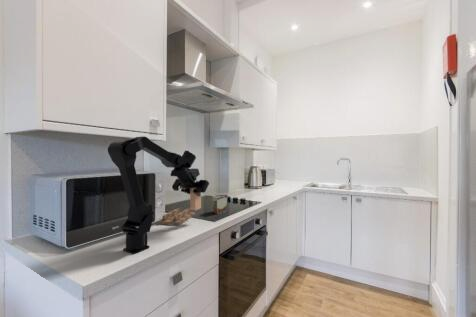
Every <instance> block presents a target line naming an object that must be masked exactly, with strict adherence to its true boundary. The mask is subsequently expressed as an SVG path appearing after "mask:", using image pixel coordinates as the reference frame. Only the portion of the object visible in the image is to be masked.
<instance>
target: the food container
mask: <svg viewBox="0 0 476 317" xmlns="http://www.w3.org/2000/svg"><path fill="white" fill-rule="evenodd" d="M211 198H212V199H211V201H212V203H213V213H214V214H215V215H220V214H222V212H223V213H225V212H228V211H227V209H228V208H227V207H228V198H229V196H228V194H215V195H212V197H211ZM219 213H220V214H219Z"/></svg>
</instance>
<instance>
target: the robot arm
mask: <svg viewBox="0 0 476 317" xmlns="http://www.w3.org/2000/svg"><path fill="white" fill-rule="evenodd" d="M140 151H141V152H142V151H144V152H146V153H147V154H149V155H151V156H153V157H155V158H156V159H158V160H160V162H161V164H162V165H163V166H165V167H166V168H173V169H172V170H170V177H176V179H175V181H174V182H173V184H172V185H171V186H172V187H171V188H172V190H173V191H175V192H178V191H179V190H180V192H181V193H185V194H188V195H190V189H191V188H194V191H193V193H195V194H196V195H198V196H200V195H201V196H202V194H203V193H206V191H207V189H208V187H209V185H210V182H209V181H208V179H199V180H198V177H199V176H200V170H199V168H191V167H192V166H193V164H194V162H195V160H196V159H197V157H196V155H195V154H194V153H193V152H190V151H189V150H184V151H183V154H182V155H181V154H179V153H176V152H172V151H168V150H166V149H165V148H163V147H162V146H160V145H159V144H157V143H155V142H154V141H152V140H151V139H150V138H148V137H147V136H136V137H134V138H130V139H127V140H124V141H113V142H110V144H109V145H108V147H107V153H108V155H109V158H110V159H111V161H112V162H113V164H114V165H115V166H116V167H117V169H118V170H119V174H120V177H121V180H122V184H123V188H124V191H125V194H126V198H127V201H128V202H127V203H128V205H129V207H128V211H127V219H126V220H125V222H124V223H123V224H122V226H121V230H122V233H125V247H124V248H123V249H122V251H125V252H127V253H130V254H137V253H139V252H141V251H145V250H146V249H149V248H150V245H148V233H150V231H151V228H152V225H153V221H154V215H155V213H154V212H153V206H152V204H149V203H146V202H145V200H144V197H143V193H142V189H141V185H140V181H139V177H138V174H137V171H136V170H137V169H136V167H135V165H136V164H135V163H136V160H137V153H138V152H140ZM200 192H201V193H200Z"/></svg>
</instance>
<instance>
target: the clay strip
mask: <svg viewBox="0 0 476 317" xmlns="http://www.w3.org/2000/svg"><path fill="white" fill-rule="evenodd" d="M193 191H194V188H191V189H190V194H189V199H190V202H189V204H190V205H189V206H190V207H189V208H190V211H197V210H201V209H202V193H201V192H200V193H201V195H200V196H198V195H196V194H195V193H193Z"/></svg>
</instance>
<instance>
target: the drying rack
mask: <svg viewBox="0 0 476 317" xmlns="http://www.w3.org/2000/svg"><path fill="white" fill-rule="evenodd" d="M193 215H194V216H195V215H196V212H194V211H191V210H190V207H188V208H186V209H184V210H182V211H181V207H177V208H175V209H173V210H171V211H169V212H167V213H165V214H163V215H162V216H161V219H159V220H157V221H156V224H157V225H169V226H170V225H171V226H181V225H182V224H184V223H186V222H187V221H188V220H190V219H191V218H192V217H194V216H193Z"/></svg>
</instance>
